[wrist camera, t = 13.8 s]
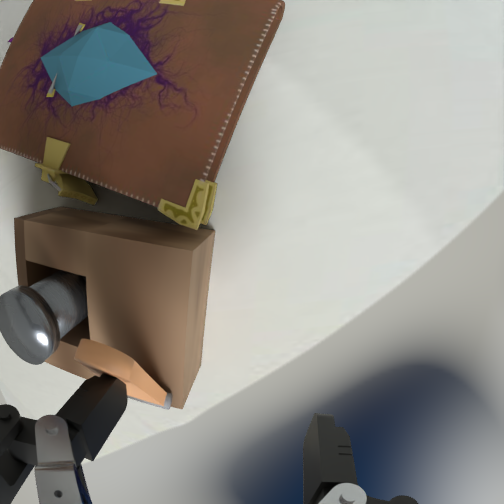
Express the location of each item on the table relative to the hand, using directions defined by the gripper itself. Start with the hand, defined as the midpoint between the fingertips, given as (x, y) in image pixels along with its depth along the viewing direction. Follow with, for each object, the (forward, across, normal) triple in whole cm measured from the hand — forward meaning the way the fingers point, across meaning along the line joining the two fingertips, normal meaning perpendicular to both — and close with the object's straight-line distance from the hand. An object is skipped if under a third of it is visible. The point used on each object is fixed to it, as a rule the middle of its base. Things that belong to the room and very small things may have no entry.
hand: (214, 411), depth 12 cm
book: (+10, +14, -15) cm, 22 cm away
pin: (+9, +11, 0) cm, 14 cm away
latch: (+2, +4, 0) cm, 5 cm away
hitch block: (+9, +8, 0) cm, 13 cm away
